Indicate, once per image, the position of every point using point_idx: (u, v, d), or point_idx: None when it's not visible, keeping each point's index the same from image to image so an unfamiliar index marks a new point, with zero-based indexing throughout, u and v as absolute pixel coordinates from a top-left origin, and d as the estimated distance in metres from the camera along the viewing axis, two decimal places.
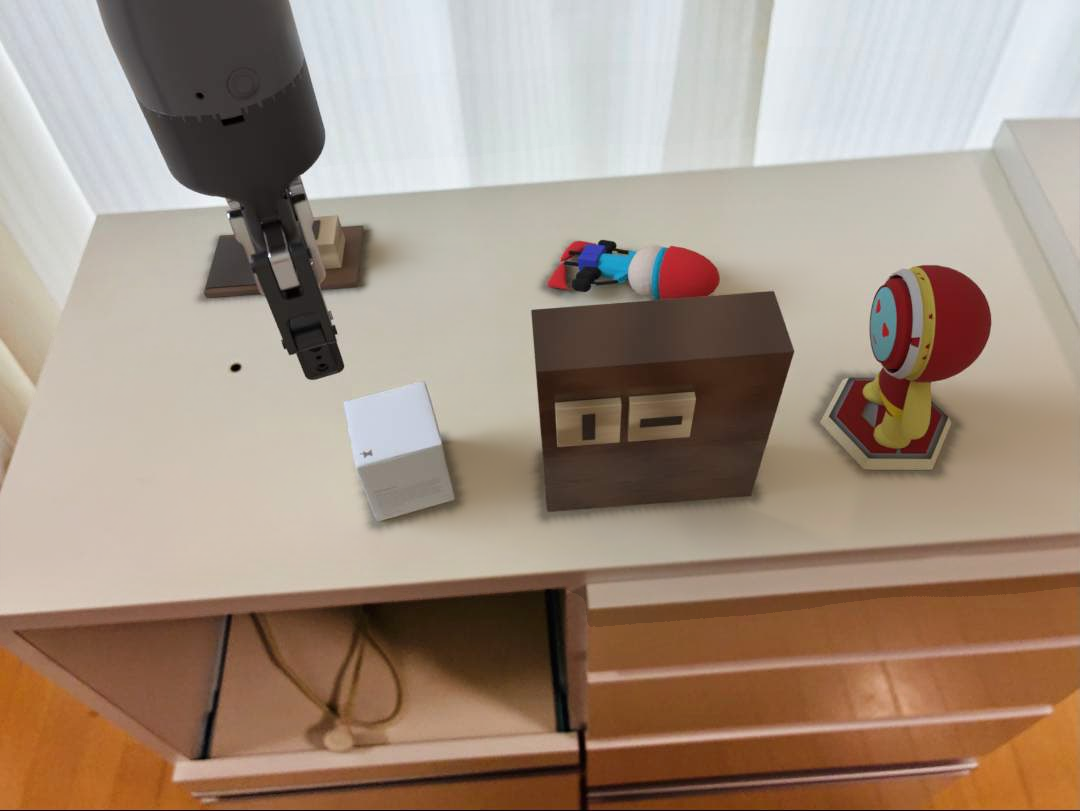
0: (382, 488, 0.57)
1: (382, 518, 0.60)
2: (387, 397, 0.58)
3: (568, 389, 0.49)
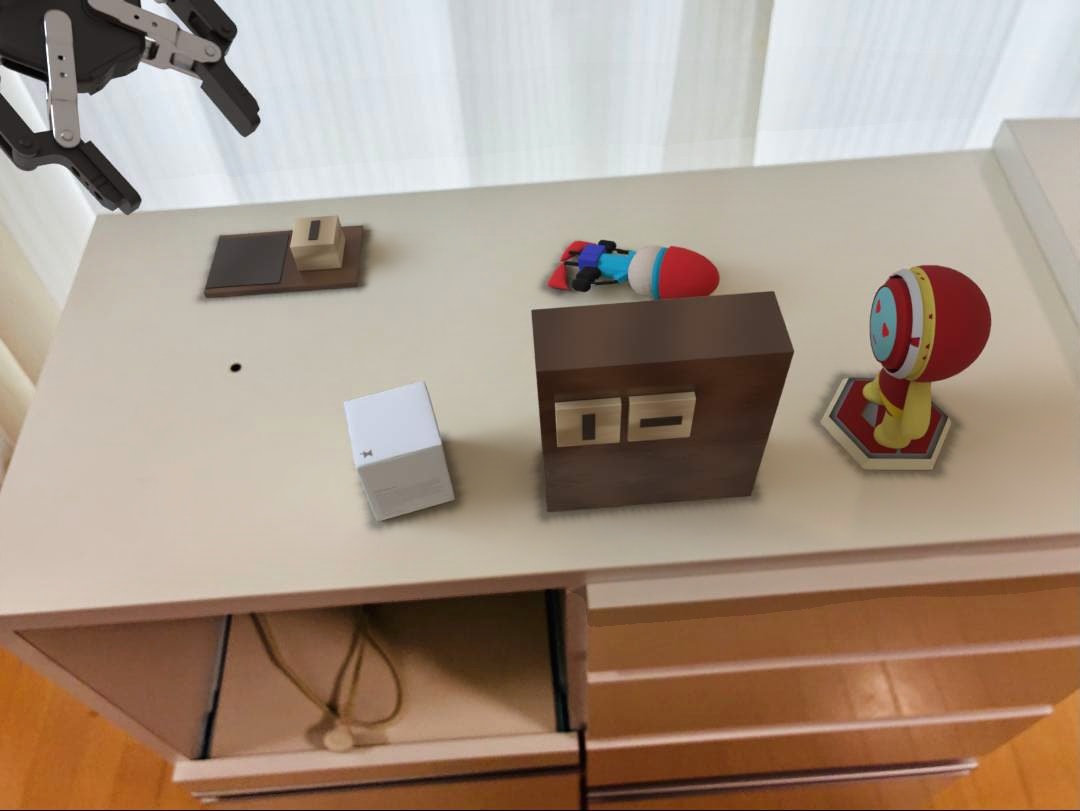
0: (382, 488, 0.57)
1: (382, 518, 0.60)
2: (387, 397, 0.58)
3: (568, 389, 0.49)
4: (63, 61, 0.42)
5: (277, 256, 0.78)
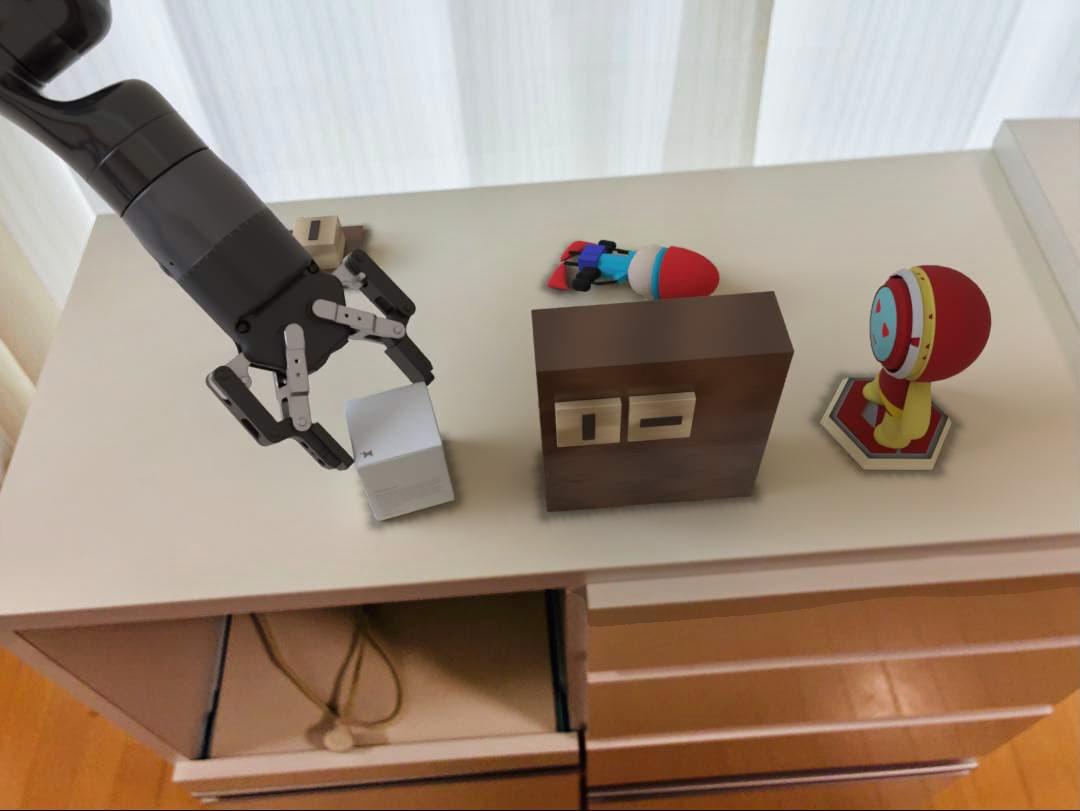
0: (382, 488, 0.57)
1: (382, 518, 0.60)
2: (387, 397, 0.58)
3: (568, 389, 0.49)
4: (298, 363, 0.53)
5: None
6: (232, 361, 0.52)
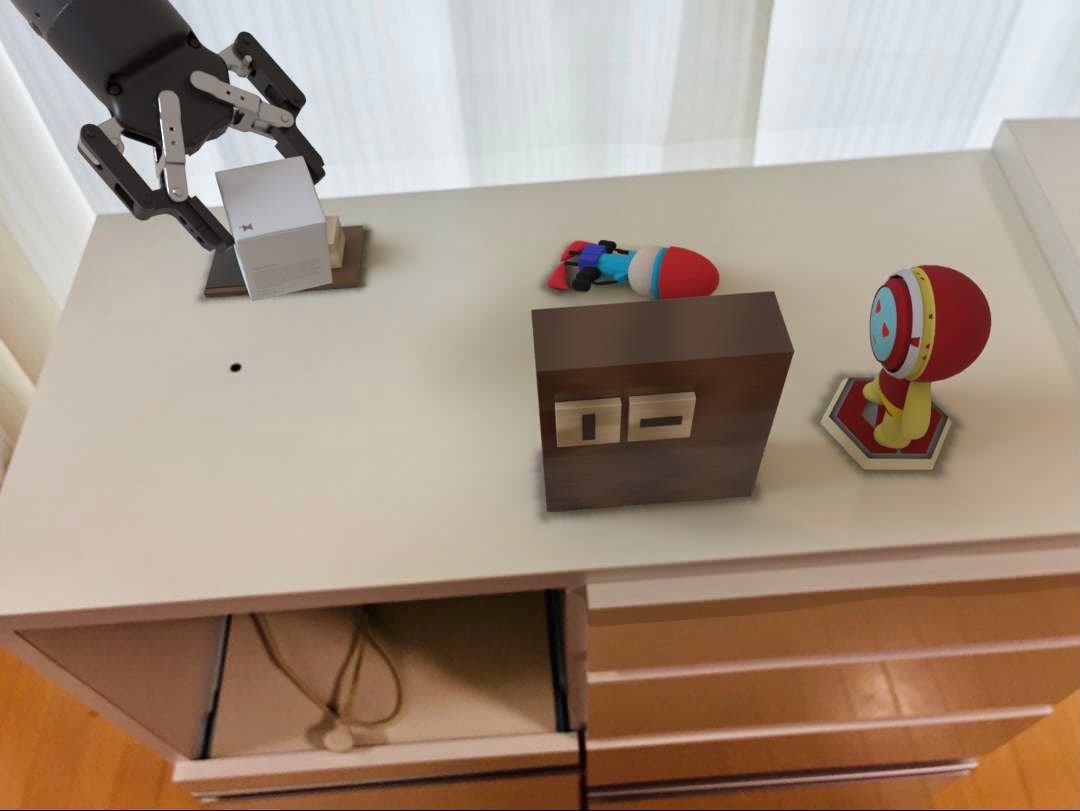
0: (260, 265, 0.56)
1: (258, 298, 0.59)
2: (263, 170, 0.56)
3: (568, 389, 0.49)
4: (174, 132, 0.52)
5: None
6: (103, 124, 0.51)
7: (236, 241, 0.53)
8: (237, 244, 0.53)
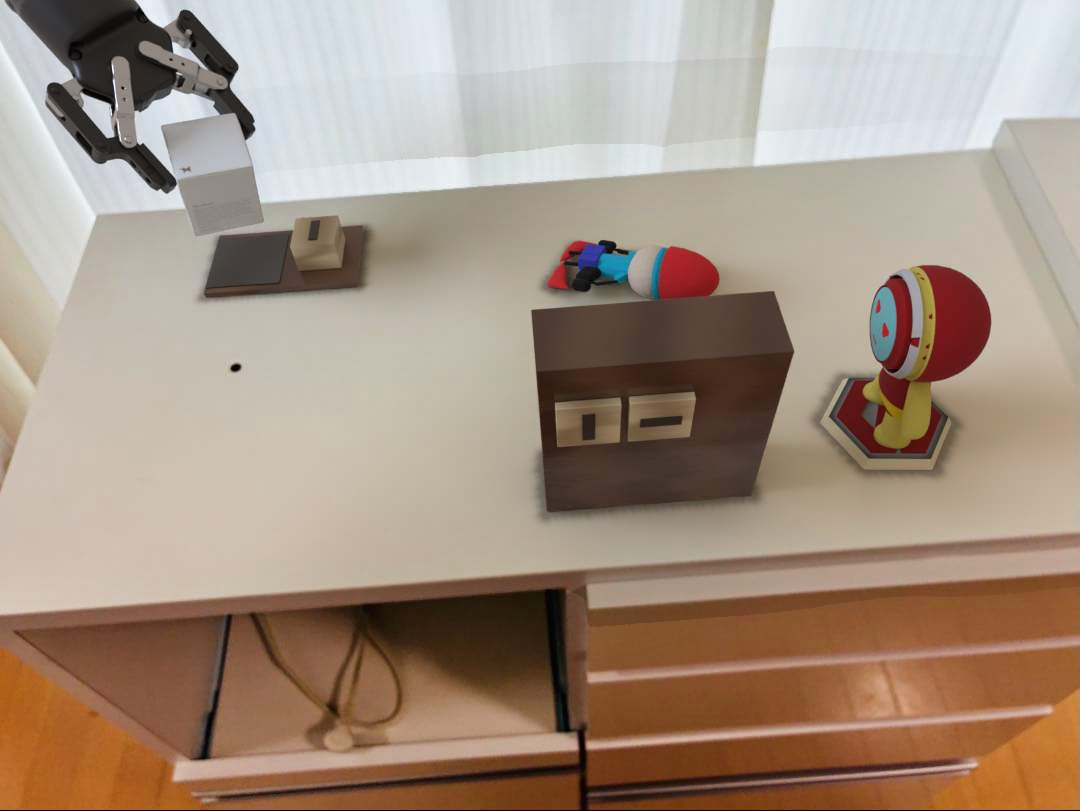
0: (199, 203, 0.67)
1: (200, 233, 0.70)
2: (201, 124, 0.67)
3: (568, 389, 0.49)
4: (124, 90, 0.63)
5: (277, 256, 0.78)
6: (66, 83, 0.62)
7: (177, 180, 0.64)
8: (178, 183, 0.65)
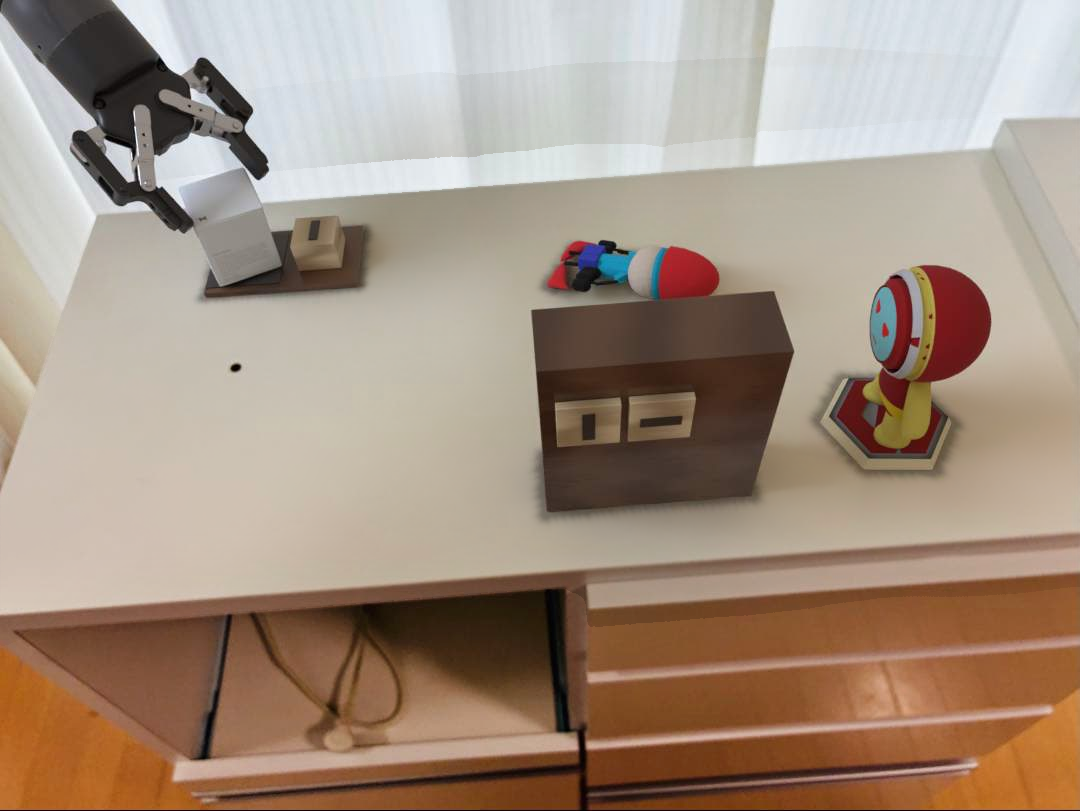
0: (219, 250, 0.72)
1: (224, 283, 0.75)
2: (214, 180, 0.72)
3: (568, 389, 0.49)
4: (145, 137, 0.66)
5: None
6: (90, 130, 0.65)
7: (195, 229, 0.69)
8: (196, 232, 0.70)
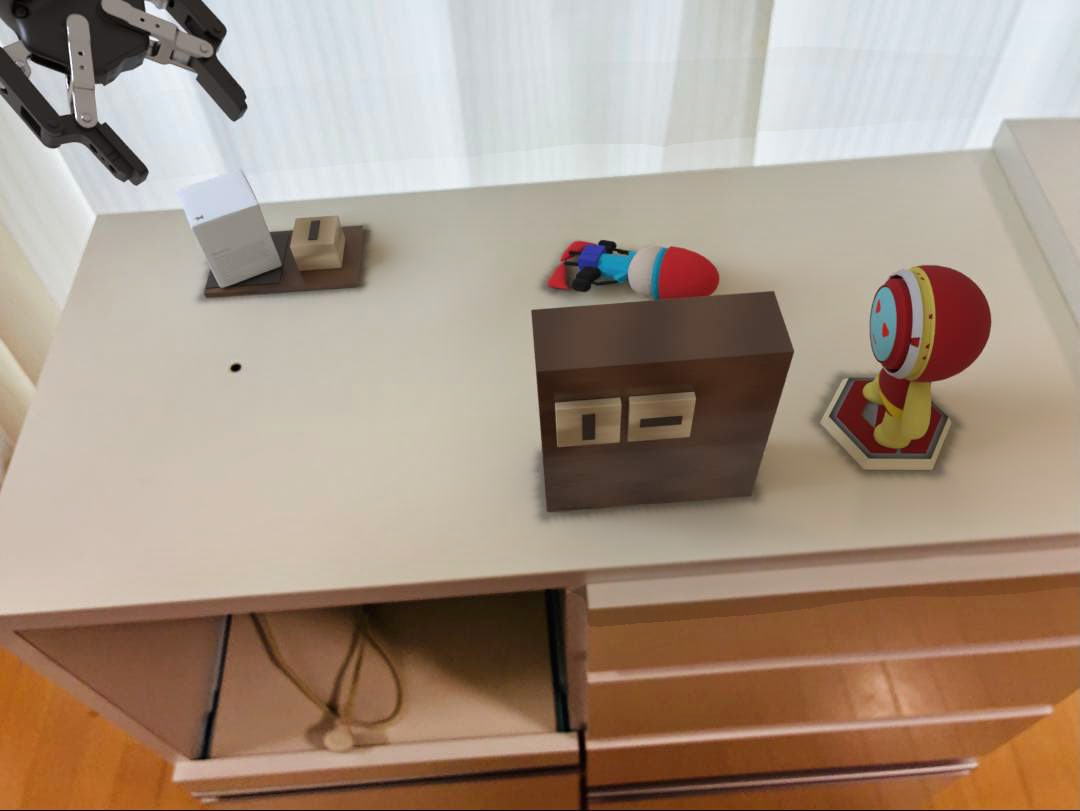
0: (217, 250, 0.72)
1: (224, 284, 0.75)
2: (211, 182, 0.73)
3: (568, 389, 0.49)
4: (82, 56, 0.51)
5: None
6: (8, 47, 0.50)
7: (192, 228, 0.70)
8: (193, 231, 0.70)
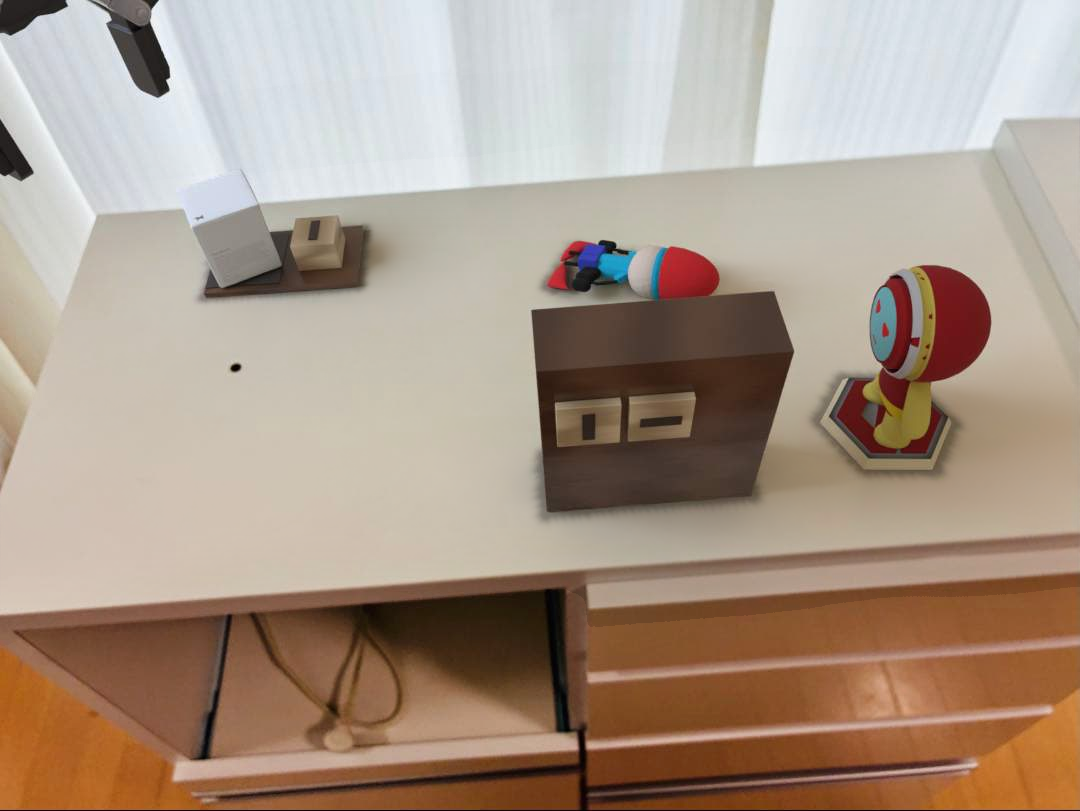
0: (217, 250, 0.72)
1: (224, 284, 0.75)
2: (211, 182, 0.73)
3: (568, 389, 0.49)
4: None
5: None
6: None
7: (192, 228, 0.70)
8: (193, 231, 0.70)
